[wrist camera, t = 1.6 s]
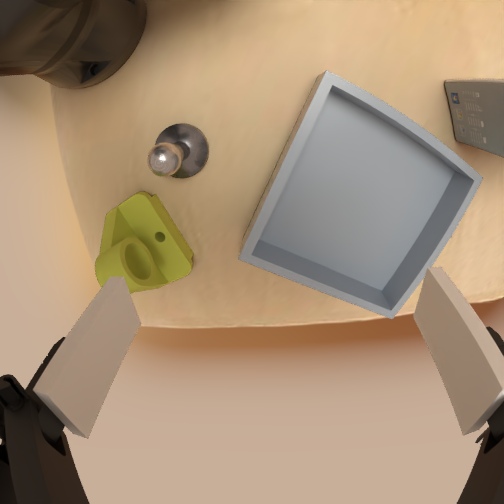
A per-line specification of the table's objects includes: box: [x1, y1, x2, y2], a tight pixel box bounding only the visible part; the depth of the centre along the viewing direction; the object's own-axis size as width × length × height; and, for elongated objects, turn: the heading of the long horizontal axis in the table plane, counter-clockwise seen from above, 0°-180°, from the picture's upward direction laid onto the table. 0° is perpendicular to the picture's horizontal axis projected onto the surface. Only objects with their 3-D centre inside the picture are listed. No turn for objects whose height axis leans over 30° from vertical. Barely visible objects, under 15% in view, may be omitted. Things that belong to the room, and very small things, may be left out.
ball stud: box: [148, 124, 209, 178], centre depth 27 cm, size 6×6×7 cm
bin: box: [238, 70, 483, 319], centre depth 29 cm, size 20×20×5 cm
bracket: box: [95, 192, 194, 294], centre depth 31 cm, size 11×6×10 cm, turn 27°
